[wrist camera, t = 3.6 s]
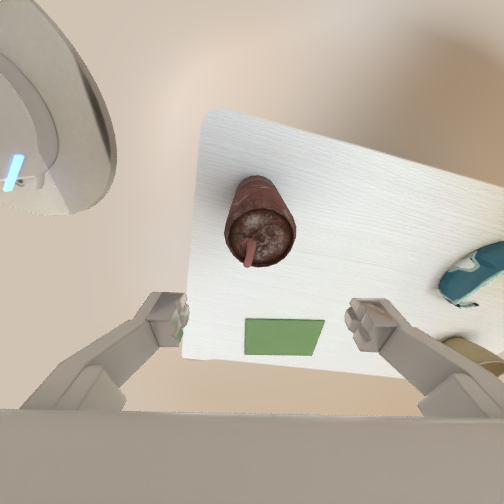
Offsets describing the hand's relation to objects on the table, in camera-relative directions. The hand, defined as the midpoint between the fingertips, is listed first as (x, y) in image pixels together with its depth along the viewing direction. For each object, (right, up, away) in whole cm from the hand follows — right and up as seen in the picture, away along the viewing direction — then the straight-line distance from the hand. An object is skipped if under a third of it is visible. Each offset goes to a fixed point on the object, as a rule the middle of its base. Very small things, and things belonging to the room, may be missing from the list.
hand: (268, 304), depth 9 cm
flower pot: (+50, -21, +37) cm, 66 cm away
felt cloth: (+6, -19, +35) cm, 40 cm away
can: (0, +11, +18) cm, 21 cm away
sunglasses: (+43, -2, +25) cm, 50 cm away
